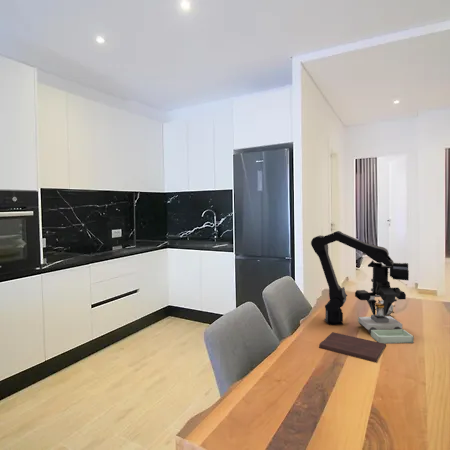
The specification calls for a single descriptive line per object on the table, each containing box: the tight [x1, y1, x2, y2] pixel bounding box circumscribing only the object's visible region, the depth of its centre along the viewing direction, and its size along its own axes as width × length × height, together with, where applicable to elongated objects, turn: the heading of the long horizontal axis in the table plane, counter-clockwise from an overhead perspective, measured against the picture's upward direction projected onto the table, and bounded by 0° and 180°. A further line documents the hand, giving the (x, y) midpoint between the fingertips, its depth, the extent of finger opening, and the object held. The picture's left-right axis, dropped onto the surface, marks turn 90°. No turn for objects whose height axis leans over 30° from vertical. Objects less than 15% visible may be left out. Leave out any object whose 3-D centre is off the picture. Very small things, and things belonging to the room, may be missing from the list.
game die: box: [375, 299, 396, 317], centre depth 151 cm, size 9×8×10 cm
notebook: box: [318, 331, 387, 363], centre depth 120 cm, size 15×20×2 cm
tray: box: [370, 328, 415, 345], centre depth 126 cm, size 13×7×2 cm, turn 91°
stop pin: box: [375, 302, 384, 318], centre depth 135 cm, size 3×3×7 cm
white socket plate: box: [357, 314, 403, 335], centre depth 135 cm, size 14×10×6 cm
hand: (379, 314), depth 135 cm, fingers open, 4 cm apart
